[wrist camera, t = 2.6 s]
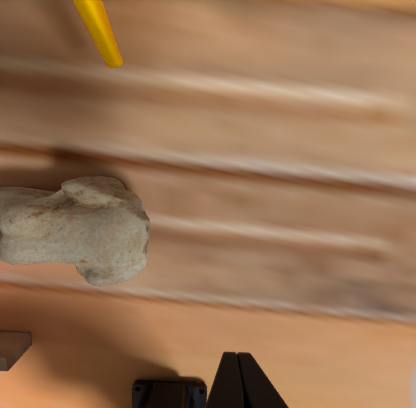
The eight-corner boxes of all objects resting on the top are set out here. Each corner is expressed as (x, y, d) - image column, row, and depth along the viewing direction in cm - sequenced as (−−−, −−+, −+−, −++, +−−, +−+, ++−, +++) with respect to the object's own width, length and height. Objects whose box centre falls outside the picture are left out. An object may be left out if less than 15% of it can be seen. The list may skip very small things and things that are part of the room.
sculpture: (-12, 260, 20) (167, 268, 19) (-86, 291, 15) (146, 304, 14) (-26, 173, 19) (165, 175, 17) (-112, 177, 14) (141, 180, 13)
